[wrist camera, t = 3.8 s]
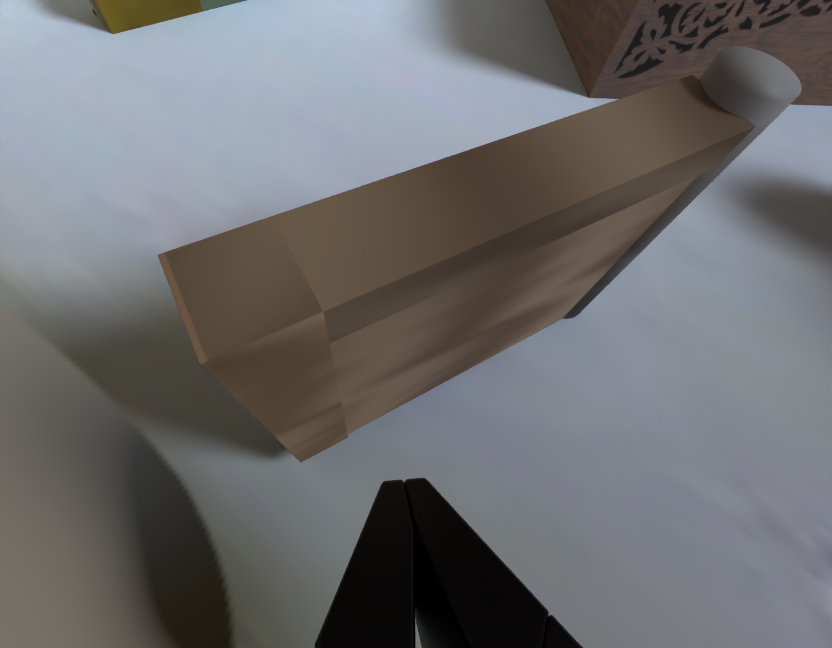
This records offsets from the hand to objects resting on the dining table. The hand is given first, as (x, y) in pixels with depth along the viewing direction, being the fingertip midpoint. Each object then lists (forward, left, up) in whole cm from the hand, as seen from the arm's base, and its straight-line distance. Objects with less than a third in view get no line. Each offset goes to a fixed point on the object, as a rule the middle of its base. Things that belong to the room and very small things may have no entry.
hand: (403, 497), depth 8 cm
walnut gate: (+6, -1, -7) cm, 10 cm away
